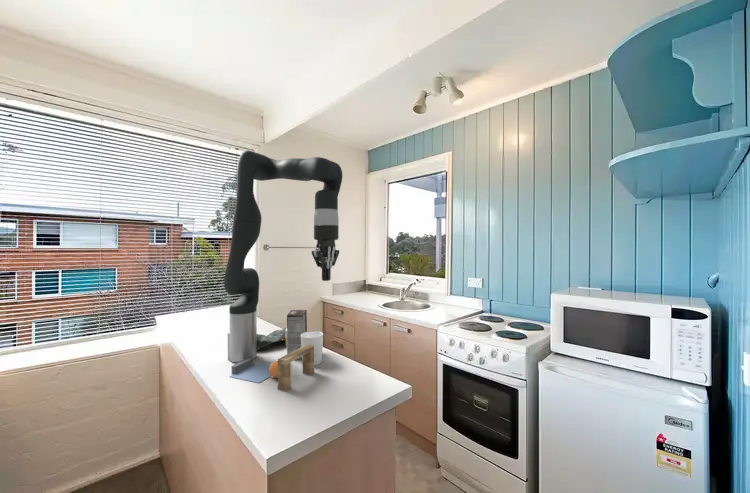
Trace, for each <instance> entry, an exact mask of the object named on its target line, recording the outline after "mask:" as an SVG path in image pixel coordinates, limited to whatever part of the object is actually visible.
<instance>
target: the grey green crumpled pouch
mask: <svg viewBox="0 0 750 493" xmlns="http://www.w3.org/2000/svg"><path fill="white" fill-rule="evenodd" d="M286 328H287V327H284V328H283V329H277V330H273V331H272V332H271V333H269V334H267V335H266V334H258V333H257V351H258V350H260V349H261V348H263V347H265V346H267V345H271V344H273V343H276V342H277V343H279V342H282V340H285V341H286Z"/></svg>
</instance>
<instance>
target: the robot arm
mask: <svg viewBox="0 0 750 493" xmlns="http://www.w3.org/2000/svg"><path fill="white" fill-rule="evenodd" d="M283 179H284V180H291V181H293V180H294V181H299V182H300V181H302V182H309V181H314V182H315V181H316V182H320V183H323V186H322V189H319V190H317V191H316V192H315V196H314V214H313V215H314V216H313V238H314V240H315V241H317V242H316V248H315V249H314V250H311V255H312V257H313V259H314V262H315V265H316V267H319V268H320V269H321V281H322V282H329V281H330V280H331V271H332V270H331V269H332V268H333V267H334V266H335V265H336V263H337V260H338V257H339V255H340V250H339V249H336V243H335V242H336V241H338V240H339V232H340V231H339V224H340V223H339V222H340V221H339V211H338V209H339V208H338V207H339V206H338V205H339V203H338V202H339V198H338V197H339V194H340V192H341V190H340V189H341V186H342V182H343V170H342V167H341V166H340V164H339V163H337V162H336V161H333V160H330V159H327V158H324V157H320V156H319V157H318V156H317V157H316V156H314V157H308V158H297V157H295V158H294V157H293V158H292V157H291V158H287V159H283V160H278V159H275V158H271V157H268V156H267V155H264V154H261V153H258V152H256V151H252V150H244V151H242V152H241V153H240V155H239V156H238V160H237V168H236V196H235V197H236V198H235V209H234V213H233V214H234V215H233V220H232V221H233V222H232V229H231V230H232V232H231V241H230V249H229V254H228V258H227V259H228V260H227V263H226V267H225V272H224V278H223V286H224V290H225V292H226V294H228V295H230V296H233V295H234V296H236V295H240V296H239V297H238V299H237V300H236V301H234V302H232V303H231V304H230V305H229V332H227V360H229V361H230V362H231V363H240V362H242V361H244V360H247V359H249V358H254V360H255V359H256V358H257V355H258V350H257V334H258V333H257V332H258V331H257V329H258V327H257V322H258V320H257V313H258V312H257V307H258V305H259V298H260V297H259V294H260V278H259V274H258V272H257V270H256V269H254V268H252V267H249V268H248V267H246V268H244V265H245V260H246V258H247V256H248V254H249V252H250V251H251V249H252V248H253V247H254V245H255V244H256V243H257V241H258V238H259V237H260V234H261V228H262V227H261V226H262V213H261V210H260V208H259V205H258V203H257V200H256V197H255V194H254V183H255V180H256V181H262V182H263V181H271V180H283Z"/></svg>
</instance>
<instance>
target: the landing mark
mask: <svg viewBox="0 0 750 493" xmlns="http://www.w3.org/2000/svg"><path fill="white" fill-rule="evenodd" d="M270 365H271V364H265V363H260V362H256V363H254V365H253V366H251V367H248V368H246V369H244V370H242V371H240V372H238V373H236V374H231V375H229V378H233V379H236V380H242V381H246V382H251V383H257V384H260V383H262V382H264V381H266V380H267V379H269V378H271V377H272V376H271V375H270V373H269V367H270Z"/></svg>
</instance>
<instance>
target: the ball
mask: <svg viewBox="0 0 750 493" xmlns="http://www.w3.org/2000/svg"><path fill="white" fill-rule="evenodd" d="M269 365H270V367H269V373H270V375H271V377H272V378H274V379H278V360H274V361H273V362H272V363H271V364H269Z"/></svg>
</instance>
